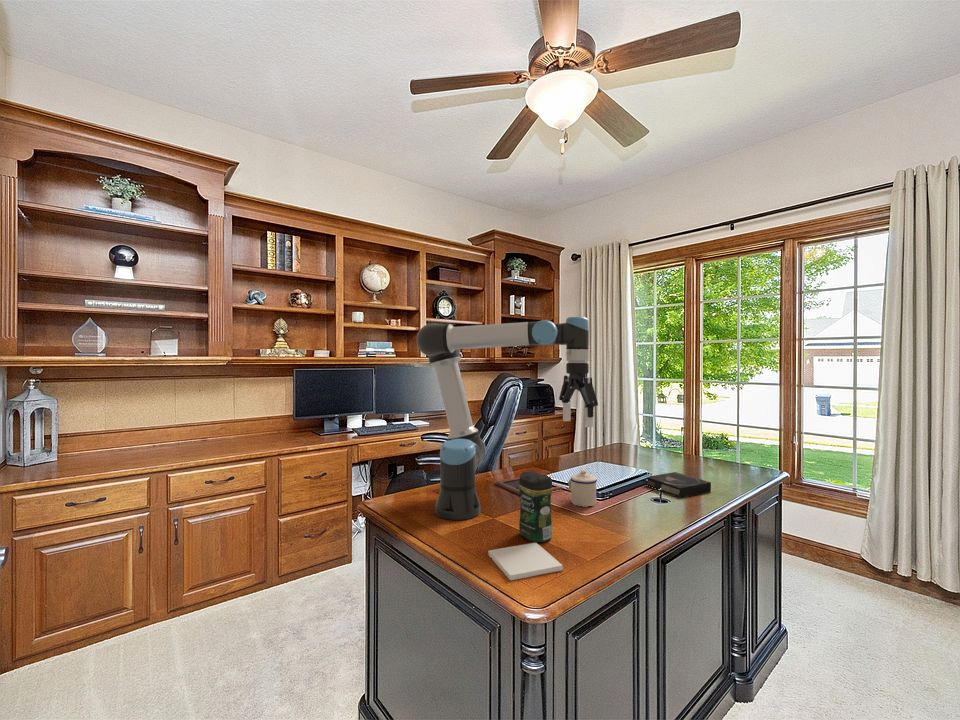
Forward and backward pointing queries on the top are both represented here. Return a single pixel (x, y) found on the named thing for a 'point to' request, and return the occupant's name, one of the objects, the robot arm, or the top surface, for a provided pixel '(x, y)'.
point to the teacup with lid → (583, 489)
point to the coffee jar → (535, 506)
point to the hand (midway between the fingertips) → (577, 424)
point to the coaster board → (524, 561)
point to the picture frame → (517, 484)
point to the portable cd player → (679, 484)
